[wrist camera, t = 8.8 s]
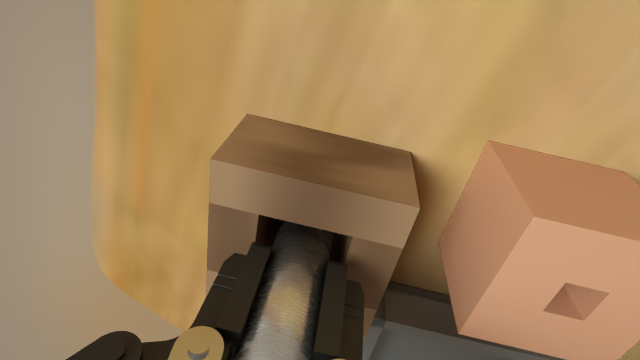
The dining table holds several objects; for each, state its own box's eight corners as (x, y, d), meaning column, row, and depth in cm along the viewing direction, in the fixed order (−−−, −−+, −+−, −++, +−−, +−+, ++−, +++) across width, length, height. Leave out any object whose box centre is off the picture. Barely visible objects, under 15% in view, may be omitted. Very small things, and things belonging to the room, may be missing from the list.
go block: (410, 152, 15) (420, 208, 12) (367, 268, 19) (365, 337, 16) (246, 113, 15) (210, 159, 12) (236, 237, 19) (205, 299, 16)
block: (624, 172, 14) (727, 261, 10) (551, 268, 17) (607, 369, 13) (488, 140, 15) (533, 216, 10) (438, 242, 17) (458, 333, 13)
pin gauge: (340, 203, 15) (294, 512, 7) (329, 242, 16) (279, 546, 8) (288, 191, 15) (179, 485, 7) (281, 230, 16) (181, 522, 8)
